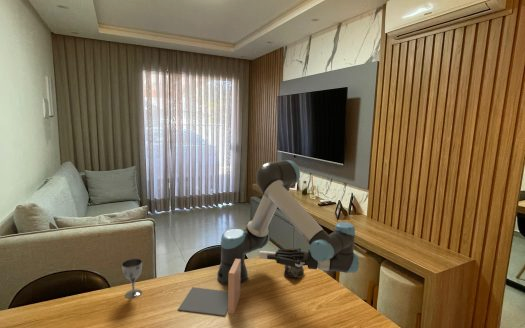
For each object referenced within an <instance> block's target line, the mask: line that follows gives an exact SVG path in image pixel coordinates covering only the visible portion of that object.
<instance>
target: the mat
mask: <svg viewBox="0 0 525 328" xmlns="http://www.w3.org/2000/svg"><path fill="white" fill-rule="evenodd" d="M177 311H180V312H187V313H196V314H204V315H211V316H219V317H220V316H221V317H225V316H226V315H227V313H228V290H219V289H213V288H212V289H211V288H203V287H194V286H193V287H191V289H190V290H189V292H188V293H187V295H186V296H185V297H184V299H183V301H182V302H181V303H180V306H179V307H178V308H177Z"/></svg>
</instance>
